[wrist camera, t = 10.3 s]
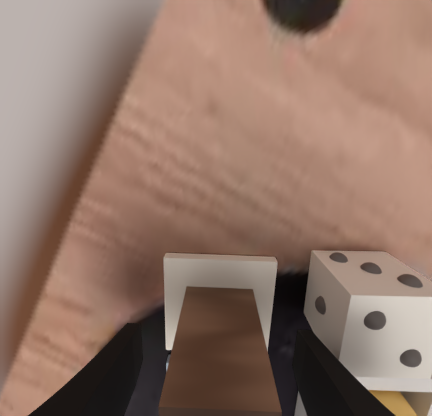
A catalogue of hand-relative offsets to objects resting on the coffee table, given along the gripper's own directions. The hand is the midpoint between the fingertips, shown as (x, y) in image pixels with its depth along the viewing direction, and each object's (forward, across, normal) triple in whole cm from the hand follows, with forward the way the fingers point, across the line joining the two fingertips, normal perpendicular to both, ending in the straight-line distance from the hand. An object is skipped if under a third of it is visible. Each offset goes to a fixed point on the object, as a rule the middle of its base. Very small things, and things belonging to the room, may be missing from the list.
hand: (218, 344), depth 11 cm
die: (+3, -7, -2) cm, 8 cm away
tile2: (+3, 0, 0) cm, 3 cm away
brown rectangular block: (+2, 0, 0) cm, 2 cm away
